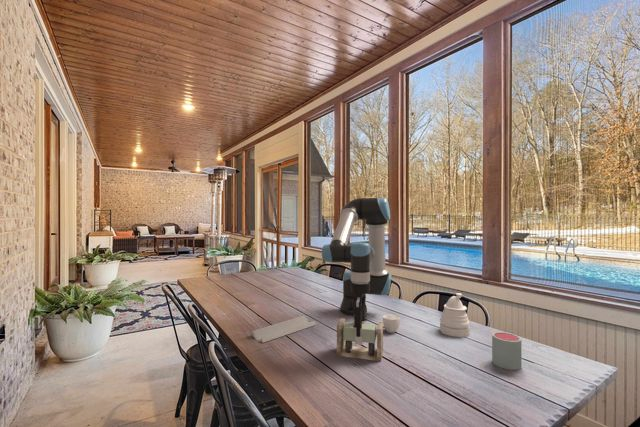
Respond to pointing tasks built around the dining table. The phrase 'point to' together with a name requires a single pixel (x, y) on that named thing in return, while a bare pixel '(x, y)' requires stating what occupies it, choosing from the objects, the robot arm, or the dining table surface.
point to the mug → (506, 350)
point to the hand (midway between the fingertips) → (360, 340)
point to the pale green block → (367, 332)
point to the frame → (359, 352)
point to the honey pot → (455, 318)
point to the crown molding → (281, 329)
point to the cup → (391, 322)
